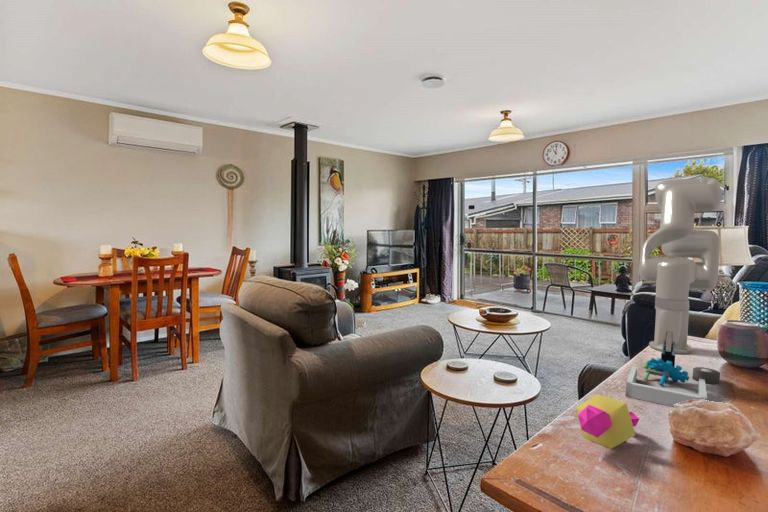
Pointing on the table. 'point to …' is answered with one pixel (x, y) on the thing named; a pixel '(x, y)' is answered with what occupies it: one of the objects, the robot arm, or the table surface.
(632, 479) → the table surface
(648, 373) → the gear
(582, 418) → the toy
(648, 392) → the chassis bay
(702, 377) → the wheel
